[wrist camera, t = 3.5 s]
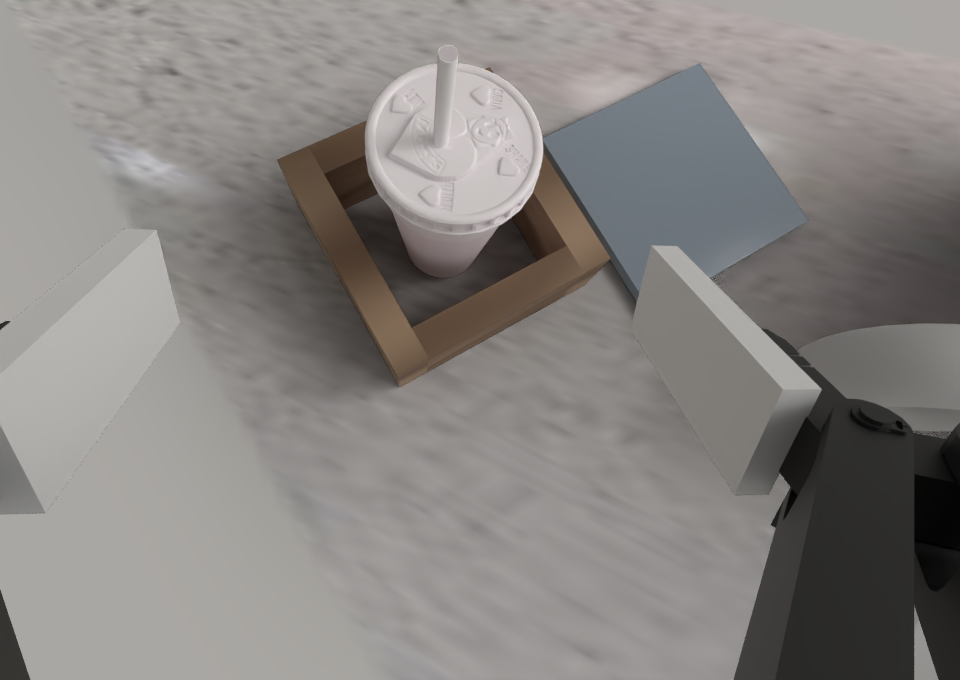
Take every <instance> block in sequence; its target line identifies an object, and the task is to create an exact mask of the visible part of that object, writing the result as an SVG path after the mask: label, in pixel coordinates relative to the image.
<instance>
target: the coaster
mask: <svg viewBox="0 0 960 680" xmlns="http://www.w3.org/2000/svg"><path fill="white" fill-rule="evenodd" d="M543 152H544V154H545V155H546V157H547V158H548V160H549V161H550V163H551V165H552V166H553V168H554V169H555V171H556V173H557V174H558V176H559V177H560V179H561V180H562V182H563V184H564V185H565V187H566V188H567V190H568V191H569V193H570V195H571V196H572V198H573V199H574V201H575V203H576V204H577V206H578V207H579V209H580V210H581V212H582V214H583V215H584V217H585V218H586V220H587V222H588V223H589V225H590V226H591V228H592V229H593V231H594V233H595V234H596V236H597V237H598V239H599V240H600V242H601V244H602V245H603V247H604V248H605V250H606V252H607V253H608V255H609V256H610V258H611V259H610V261H611V262H612V264H613V266H614V267H615V269H616V270H617V272H618V274H619V275H620V277H621V278H622V280H623V281H624V283H625V285H626V286H627V288H628V289H629V291H630V292H631V294H632V296H633V297H634V299H635V300H636V302H637V300H638V296H639V292H640V288H641V284H642V280H643V276H644V273H645V269H646V265H647V261H648V257H649V253H650V249H651V245H656V246H678V247H679V248H680V249H681V250H682V251H683V252H684V253H685V254H686V255H687V256H688V257H689V258H690V259H691V260H692V261H693V262H694V263H695V264H696V265H697V266H698V267H699V268H700V269H701V270H702V271H703V272H704V273H705V274H706V275H707V276H708V277H709V278H711V277H713V276H715V275H716V274H718V273H720V272H722V271H723V270H725V269H727V268H728V267H730V266H732V265H734V264H735V263H737V262H739V261H740V260H742V259H744V258H746V257H747V256H749V255H751V254H752V253H754V252H756V251H758V250H759V249H761V248H763V247H764V246H766V245H768V244H770V243H771V242H773V241H775V240H776V239H778V238H780V237H782V236H783V235H785V234H787V233H788V232H790V231H792V230H794V229H795V228H797V227H799V226H800V225H802V224H804V223H805V222H807V221H809V220H808V218H807V217H806V216H805V214H804V213H803V211H802V210H801V208H800V207H799V205H798V204H797V203H796V201H795V200H794V198H793V197H792V195H791V194H790V192H789V191H788V190H787V188H786V187H785V185H784V184H783V182H782V181H781V179H780V178H779V177H778V175H777V174H776V172H775V171H774V169H773V168H772V166H771V165H770V164H769V162H768V161H767V159H766V158H765V156H764V155H763V153H762V152H761V151H760V149H759V148H758V146H757V145H756V143H755V142H754V140H753V139H752V138H751V136H750V135H749V133H748V132H747V130H746V129H745V127H744V126H743V125H742V123H741V122H740V120H739V119H738V117H737V116H736V115H735V113H734V112H733V110H732V109H731V107H730V106H729V104H728V103H727V102H726V100H725V99H724V97H723V96H722V94H721V93H720V91H719V90H718V89H717V87H716V86H715V84H714V83H713V81H712V80H711V78H710V77H709V76H708V74H707V73H706V71H705V70H704V68H703V67H702V65H701V64H700V63H699V64H697V65H695V66H693V67H691V68H688V69H686V70H684V71H682V72H680V73H678V74H676V75H674V76H672V77H670V78H667V79H665V80H663V81H661V82H659V83H657V84H655V85H653V86H651V87H649V88H647V89H644V90H642V91H640V92H638V93H636V94H634V95H632V96H630V97H628V98H626V99H623V100H621V101H619V102H617V103H615V104H613V105H611V106H609V107H607V108H605V109H603V110H600V111H598V112H596V113H594V114H592V115H590V116H588V117H586V118H584V119H582V120H579V121H577V122H575V123H573V124H571V125H569V126H567V127H565V128H563V129H561V130H559V131H556V132H554V133H552V134H550V135H548V136H546V137H544V138H543Z"/></svg>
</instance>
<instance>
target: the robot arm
mask: <svg viewBox="0 0 960 680" xmlns="http://www.w3.org/2000/svg"><path fill="white" fill-rule="evenodd" d="M179 324H180V320H179V316H178V312H177V308H176V305H175V301H174V297H173V293H172V289H171V285H170V281H169V277H168V273H167V269H166V265H165V261H164V257H163V253H162V249H161V245H160V242H159V238H158V234H157V230H151V229H123V230H122V231H121V232H119V233H118V234H117V235H116V236H115V237H114V238H112V239H111V240H110V241H108V242H107V243H106V244H105V245H104V246H102V247H101V248H100V249H99V250H97V251H96V252H95V253H94V254H93V255H91V256H90V257H89V258H88V259H86V261H84V262H83V263H82V264H81V265H79V266H78V267H77V268H76V269H74V270H73V271H72V272H71V273H69V274H68V275H67V276H66V277H65V278H63V279H62V280H61V281H60V282H58V283H57V284H56V285H55V286H54V287H52V288H51V289H50V290H49V291H47V292H46V293H45V294H44V295H43V296H41V297H40V298H39V299H38V300H36V301H35V302H34V303H33V304H32V305H30V306H29V307H28V308H27V309H26V310H24V311H23V312H22V313H21V314H19V315H18V316H17V317H16V318H15V319H13V320H12V321H5V322H3V323H1V324H0V514H34V513H35V514H37V513H46V512H47V511H48V509H49V508H50V507H51V505H52V504H53V502H54V501H55V499H56V498H57V497H58V495H59V494H60V493H61V491H62V490H63V488H64V487H65V485H66V484H67V483H68V481H69V480H70V478H71V477H72V475H73V474H74V473H75V471H76V470H77V468H78V467H79V466H80V464H81V463H82V461H83V460H84V459H85V457H86V456H87V454H88V453H89V452H90V450H91V449H92V447H93V446H94V444H95V443H96V442H97V440H98V439H99V437H100V436H101V435H102V433H103V432H104V430H105V429H106V428H107V426H108V425H109V423H110V422H111V420H112V419H113V418H114V416H115V415H116V413H117V412H118V411H119V409H120V408H121V406H122V405H123V403H124V402H125V400H126V399H127V398H128V396H129V395H130V394H131V392H132V390H133V389H134V388H135V387H136V385H137V384H138V382H139V381H140V379H141V378H142V377H143V375H144V374H145V372H146V371H147V369H148V368H149V367H150V365H151V364H152V362H153V361H154V360H155V358H156V357H157V355H158V354H159V353H160V351H161V350H162V348H163V347H164V346H165V344H166V343H167V341H168V340H169V338H170V337H171V336H172V334H173V333H174V331H175V330H176V329H177V327H178V326H179ZM630 329H631V331H632V333H633V334H634V336H635V337H636V339H637V341H638V342H639V344H640V345H641V347H642V349H643V350H644V352H645V353H646V355H647V357H648V358H649V360H650V361H651V363H652V365H653V366H654V368H655V369H656V371H657V373H658V374H659V376H660V377H661V379H662V381H663V382H664V384H665V385H666V387H667V389H668V390H669V392H670V393H671V395H672V397H673V398H674V400H675V401H676V403H677V404H678V406H679V408H680V409H681V411H682V412H683V414H684V416H685V417H686V419H687V420H688V422H689V424H690V425H691V427H692V428H693V430H694V432H695V433H696V435H697V436H698V438H699V440H700V441H701V443H702V444H703V446H704V448H705V449H706V451H707V452H708V454H709V456H710V457H711V459H712V460H713V462H714V464H715V465H716V467H717V468H718V470H719V471H720V473H721V475H722V476H723V478H724V479H725V481H726V483H727V484H728V486H729V487H730V489H731V491H732V492H733V494H734V495H763V494H769V493H770V491H771V489H772V487H773V485H774V483H775V481H776V479H777V477H778V475H779V473H781V475H782V476H783V477H784V479H785V480H786V481H787V483H788V484H789V485H790V489H789V491H788V493H787V495H786V497H785V499H784V501H783V502H782V504H781V506H780V508H779V510H778V512H777V514H776V516H775V517H774V519H773V521H772V523H771V525H772V526H774V527H776V530H775V533H774V537H773V541H772V544H771V548H770V551H769V555H768V558H767V562H766V566H765V569H764V573H763V576H762V580H761V584H760V587H759V591H758V594H757V598H756V601H755V605H754V609H753V612H752V616H751V619H750V623H749V627H748V630H747V634H746V637H745V641H744V644H743V648H742V652H741V655H740V659H739V662H738V666H737V670H736V673H735V677H734V680H914V605H915V608H916V611H917V614H918V617H919V621H920V624H921V627H922V630H923V633H924V636H925V639H926V642H927V645H928V648H929V651H930V654H931V657H932V661H933V664H934V667H935V670H936V673H937V676H938V679H939V680H960V423H959V424H958V425H957V426H956V427H955V428H954V430H953V431H952V432H951V434H950V435H949V437H948V438H947V440H946V439H941V438H936V437H931V436H926V435H921V434H916V433H913V431H912V428H911V427H910V426H909V424H908V423H907V422H906V421H905V420H904V419H903V418H901V417H900V416H898V415H897V414H895V413H894V412H892V411H891V410H889V409H887V408H884V407H882V406H880V405H878V404H875V403H872V402H868V401H865V400H861V399H849V398H846V397H845V396H844V395H842V394H841V393H840V392H839V391H838V390H837V389H836V388H835V387H834V386H833V385H832V384H831V383H830V382H829V381H828V380H827V379H826V378H825V377H824V376H823V375H822V374H820V373H819V372H818V371H817V370H816V369H815V368H814V367H811V364H810V363H809V362H808V361H807V360H806V359H805V358H804V357H803V356H800V354H799V353H798V352H797V351H796V350H795V349H794V348H793V347H792V346H791V345H790V344H789V343H788V342H787V341H786V340H784V339H782V338H781V337H779V336H777V335H775V334H774V333H772V332H770V331H769V330H767V329H760V328H759V327H758V326H757V325H756V324H755V323H754V322H753V321H752V320H751V319H750V318H749V317H748V316H747V315H746V314H745V313H744V312H743V311H742V310H741V309H740V308H739V307H738V306H737V305H736V304H735V303H734V302H733V301H732V300H731V299H730V298H729V297H728V296H727V295H726V294H725V293H724V292H723V291H722V290H721V289H720V288H719V287H718V286H717V285H716V284H715V283H714V282H713V281H712V280H711V279H710V278H709V277H708V276H707V275H706V274H705V273H704V272H703V271H702V270H701V269H700V268H699V267H698V266H697V265H696V264H695V263H694V262H693V261H692V260H691V259H690V258H689V257H688V256H687V255H686V254H685V253H684V252H683V251H682V250H681V249H680V248H679V247H678V246H656V245H651V249H650V253H649V257H648V261H647V265H646V269H645V273H644V276H643V280H642V284H641V288H640V292H639V296H638V300H637V304H636V308H635V312H634V316H633V320H632V323H631V327H630ZM0 680H30V678H29V675H28V672H27V669H26V666H25V663H24V660H23V657H22V654H21V651H20V648H19V645H18V642H17V639H16V636H15V633H14V630H13V627H12V624H11V621H10V618H9V615H8V612H7V609H6V606H5V603H4V600H3V597H2V594H1V591H0Z"/></svg>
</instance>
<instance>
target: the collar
mask: <svg viewBox="0 0 960 680" xmlns="http://www.w3.org/2000/svg"><path fill="white" fill-rule="evenodd" d="M485 70H488V71H490V72H492V73H493V71H492V70H491V68H490V67H489V68H487V69H485ZM366 123H367V121H365V122H363V123H360V124H358V125H356V126H354V127H351V128H349V129H347V130H344V131H342V132H340V133H337V134H335V135H333V136H331V137H328V138H326V139H324V140H321V141H319V142H317V143H314V144H312V145H310V146H308V147H305V148H303V149H301V150H298V151H296V152H294V153H291V154H289V155H287V156H285V157H282V158H280V159H278V160H277V161H278V163H279V166H280V168H281V170H282V172H283V174H284V176H285V178H286V181H287V183H288V185H289V187H290V189H291V191H292V194H293V196H294V198H295V200H296V202H297V204H298V206H299V207H300V209H301V211H302V213H303V215H304V216H305V218H306V220H307V222H308V224H309V225H310V227H311V229H312V231H313V233H314V234H315V236H316V238H317V240H318V241H319V243H320V245H321V247H322V249H323V250H324V252H325V254H326V256H327V258H328V259H329V261H330V263H331V265H332V267H333V268H334V270H335V272H336V274H337V276H338V277H339V279H340V281H341V283H342V285H343V286H344V288H345V290H346V292H347V293H348V295H349V297H350V299H351V301H352V302H353V304H354V306H355V308H356V310H357V311H358V313H359V315H360V317H361V319H362V320H363V322H364V324H365V326H366V328H367V329H368V331H369V333H370V335H371V337H372V338H373V340H374V342H375V344H376V346H377V347H378V349H379V351H380V353H381V354H382V356H383V358H384V360H385V362H386V363H387V365H388V367H389V369H390V371H391V372H392V374H393V376H394V378H395V380H396V381H397V383H398V385H399V387H401V386H403V385H405V384H407V383H408V382H410V381H412V380H414V379H416V378H417V377H419V376H421V375H423V374H425V373H427V372H428V371H430V370H432V369H434V368H436V367H437V366H439V365H441V364H443V363H445V362H446V361H448V360H450V359H452V358H454V357H455V356H457V355H459V354H461V353H463V352H465V351H466V350H468V349H470V348H472V347H474V346H475V345H477V344H479V343H481V342H483V341H484V340H486V339H488V338H490V337H492V336H493V335H495V334H497V333H499V332H501V331H503V330H504V329H506V328H508V327H510V326H512V325H513V324H515V323H517V322H519V321H521V320H522V319H524V318H526V317H528V316H530V315H531V314H533V313H535V312H537V311H539V310H541V309H542V308H544V307H546V306H548V305H550V304H551V303H553V302H555V301H557V300H559V299H560V298H562V297H564V296H566V295H568V294H569V293H571V292H573V291H575V290H577V289H579V288H580V287H582V286H584V285H585V284H586V283H587V282H588V281H589V280H590V279H591V278H592V277H593V276H594V275H595V274H596V273H597V272H598V271H599V270H600V269H601V268H602V267H603V266H604V265H605V264H606V263H607V262H608V261H609V260H610V259H611V258H610V256H609V255H608V253H607V252H606V250H605V248H604V247H603V245H602V244H601V242H600V240H599V239H598V237H597V236H596V234H595V233H594V231H593V229H592V228H591V226H590V225H589V223H588V222H587V220H586V218H585V217H584V215H583V214H582V212H581V210H580V209H579V207H578V206H577V204H576V203H575V201H574V199H573V198H572V196H571V195H570V193H569V191H568V190H567V188H566V187H565V185H564V184H563V182H562V180H561V179H560V177H559V176H558V174H557V173H556V171H555V169H554V168H553V166H552V165H551V163H550V161H549V160H548V158H547V157H546V155H545V154H544V152H543V159H542V164H541V168H540V171H539V176H538V179H537V182H536V185H535V187H534V190H533V193H532V195H531V196H530V198H529V199H528V200H527V202H526V203H525V204H524V206H523V207H522V208H521V210H520V211H519V212H518V213H516V214H515V215H514V216H512V219H513V221H514V222H515V224H516V225H517V227H518V229H519V230H520V232H521V234H522V235H523V237H524V238H525V240H526V242H527V243H528V245H529V247H530V248H531V250H532V252H533V253H534V255H535V256H536V258H537V260H538V261H537V262H535V263H533V264H531V265H529V266H527V267H525V268H523V269H522V270H520V271H518V272H516V273H514V274H512V275H510V276H508V277H506V278H505V279H503V280H501V281H499V282H497V283H495V284H493V285H491V286H489V287H488V288H486V289H484V290H482V291H480V292H478V293H476V294H474V295H473V296H471V297H469V298H467V299H465V300H463V301H461V302H459V303H457V304H456V305H454V306H452V307H450V308H448V309H446V310H444V311H442V312H440V313H439V314H437V315H435V316H433V317H431V318H429V319H427V320H425V321H424V322H422V323H420V324H418V325H416V326H414V327H412V328H411V326H410V324H409V322H408V321H407V319H406V317H405V315H404V314H403V312H402V310H401V308H400V307H399V305H398V303H397V301H396V300H395V298H394V296H393V294H392V293H391V291H390V289H389V287H388V286H387V284H386V282H385V280H384V279H383V277H382V275H381V273H380V271H379V270H378V268H377V266H376V264H375V263H374V261H373V259H372V257H371V256H370V254H369V252H368V250H367V249H366V247H365V245H364V243H363V242H362V240H361V238H360V236H359V235H358V233H357V231H356V229H355V228H354V226H353V224H352V222H351V221H350V219H349V217H348V215H347V214H346V212H345V210H344V209H345V208H348V207H350V206H352V205H354V204H356V203H358V202H360V201H363V200H365V199H367V198H369V197H371V196H373V195H375V194H378V192H377V190H376V188H375V186H374V184H373V182H372V180H371V178H370V176H369V174H368V168H367V162H366V156H365V128H366Z"/></svg>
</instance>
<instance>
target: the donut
mask: <svg viewBox="0 0 960 680" xmlns="http://www.w3.org/2000/svg"><path fill="white" fill-rule="evenodd" d="M797 352H798V353H799V354H800V356H803V357H804V358H805V359H806V360H807V361H808V362H809V363H810V364H811V367H814V368H815V369H816V370H817V371H818V372H819V373H820V374H822V375H823V376H824V377H825V378H826V379H827V380H828V381H829V382H830V383H831V384H832V385H833V386H834V387H835V388H836V389H837V390H838V391H839V392H840V393H841V394H842V395H844V396H845V397H846V398H849V399H861V400H865V401H868V402H872V403H875V404H878V405H880V406H882V407H884V408H887V409H889V410H891V411H892V412H894V413H895V414H897V415H898V416H900V417H901V418H903V419H904V420H905V421H906V422H907V423H908V424H909V426H910V427H911V428H912V431H953V430H954V428H955V427H956V426H957V425H958V424H959V423H960V324H936V323H919V324H901V325H885V326H877V327H869V328H862V329H854V330H849V331H845V332H841V333H837V334H832V335H828V336H826V337H823V338H820V339H818V340H815V341H813V342H811V343H809V344H806V345H804V346H802V347H801V348H800V349H798V350H797Z"/></svg>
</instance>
